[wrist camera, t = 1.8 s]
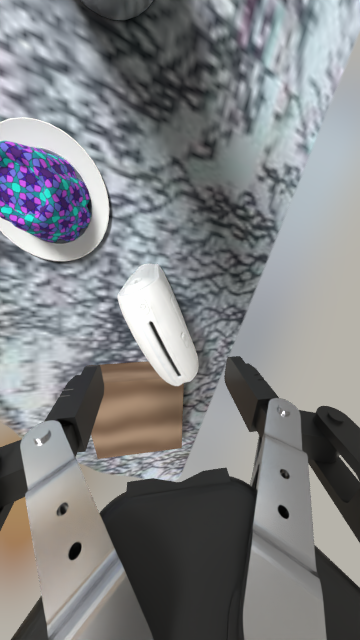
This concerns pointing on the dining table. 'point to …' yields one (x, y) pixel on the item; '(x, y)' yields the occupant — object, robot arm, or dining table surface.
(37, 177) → the pudding
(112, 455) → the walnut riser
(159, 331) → the photo printer
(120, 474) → the dining table surface
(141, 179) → the dining table surface
